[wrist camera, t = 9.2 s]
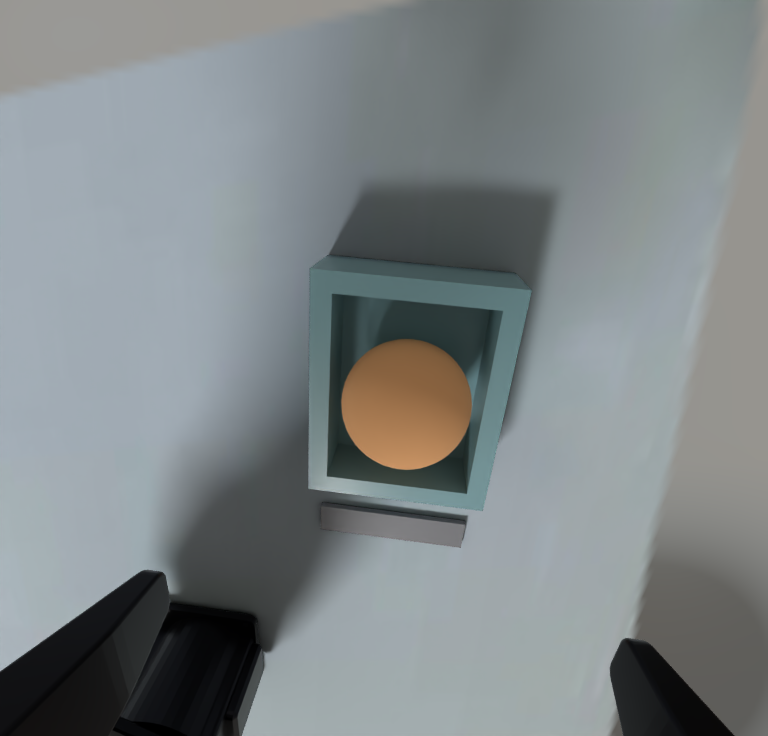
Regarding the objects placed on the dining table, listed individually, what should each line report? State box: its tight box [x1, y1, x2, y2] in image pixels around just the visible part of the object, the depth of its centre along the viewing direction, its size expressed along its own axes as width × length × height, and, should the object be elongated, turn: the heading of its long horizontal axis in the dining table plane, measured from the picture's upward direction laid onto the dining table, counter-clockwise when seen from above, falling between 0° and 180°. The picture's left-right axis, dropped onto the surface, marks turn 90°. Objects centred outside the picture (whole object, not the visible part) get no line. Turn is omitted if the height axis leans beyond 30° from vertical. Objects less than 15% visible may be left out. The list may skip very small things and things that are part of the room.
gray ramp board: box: [321, 502, 465, 548], centre depth 23 cm, size 8×2×1 cm, turn 86°
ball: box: [341, 339, 472, 470], centre depth 16 cm, size 5×5×5 cm
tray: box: [308, 255, 532, 511], centre depth 18 cm, size 8×10×3 cm
